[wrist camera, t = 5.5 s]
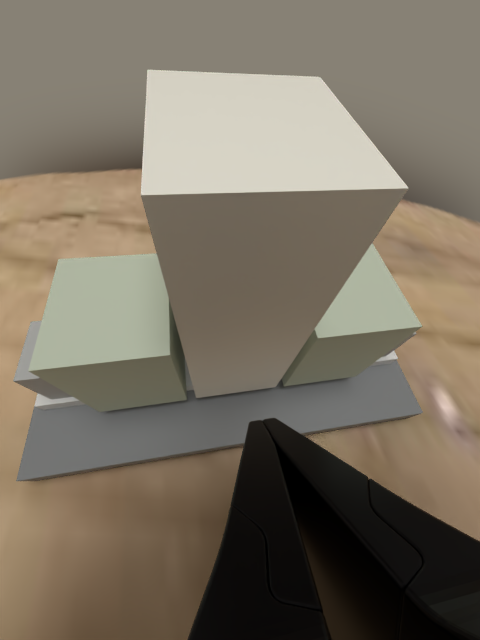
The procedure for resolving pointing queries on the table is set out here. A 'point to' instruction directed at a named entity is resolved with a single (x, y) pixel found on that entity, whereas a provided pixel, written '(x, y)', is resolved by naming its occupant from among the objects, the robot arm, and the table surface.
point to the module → (256, 215)
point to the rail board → (173, 375)
